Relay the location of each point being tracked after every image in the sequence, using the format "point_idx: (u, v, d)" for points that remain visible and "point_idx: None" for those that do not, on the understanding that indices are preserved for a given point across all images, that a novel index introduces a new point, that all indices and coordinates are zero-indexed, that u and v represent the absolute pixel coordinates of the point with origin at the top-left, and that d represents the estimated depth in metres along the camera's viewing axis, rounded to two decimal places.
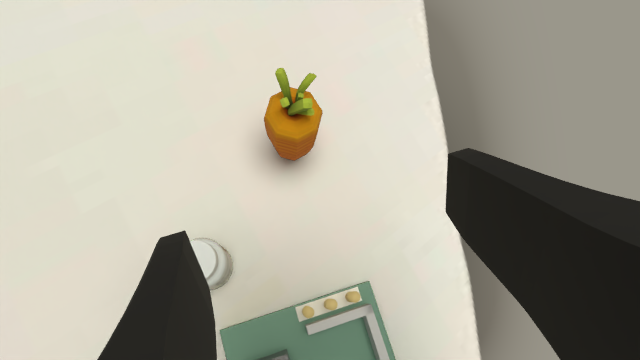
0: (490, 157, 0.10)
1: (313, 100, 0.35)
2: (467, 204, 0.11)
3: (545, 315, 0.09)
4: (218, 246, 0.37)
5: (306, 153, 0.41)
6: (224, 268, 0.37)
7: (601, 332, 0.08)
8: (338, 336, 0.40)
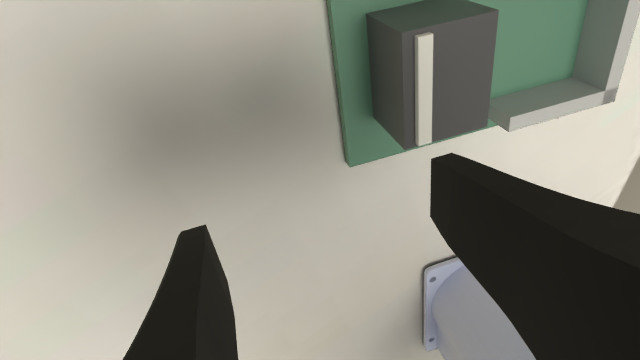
0: (472, 162, 0.10)
1: None
2: (450, 209, 0.11)
3: (526, 322, 0.09)
4: None
5: None
6: None
7: (578, 341, 0.08)
8: None
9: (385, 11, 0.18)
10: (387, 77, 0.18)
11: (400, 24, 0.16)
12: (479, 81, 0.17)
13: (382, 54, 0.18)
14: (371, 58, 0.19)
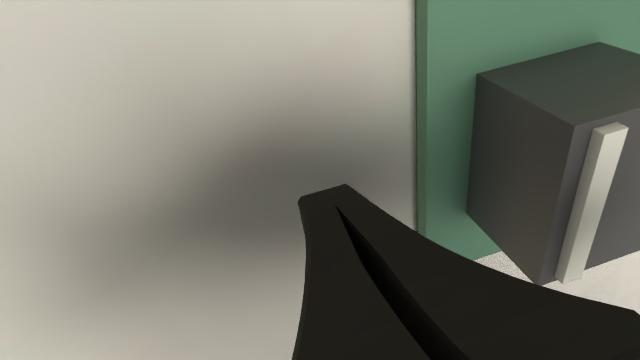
0: (357, 196, 0.10)
1: None
2: None
3: None
4: None
5: None
6: None
7: None
8: None
9: (509, 71, 0.11)
10: (514, 176, 0.11)
11: (556, 103, 0.10)
12: None
13: (508, 141, 0.11)
14: (477, 137, 0.12)
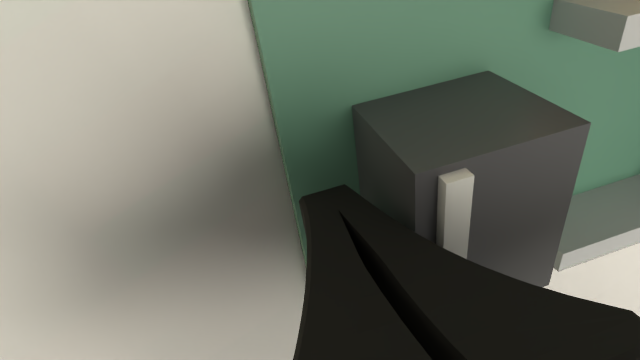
0: (356, 197, 0.10)
1: None
2: None
3: None
4: None
5: None
6: None
7: None
8: (620, 51, 0.13)
9: (384, 103, 0.11)
10: None
11: (410, 145, 0.09)
12: (544, 228, 0.10)
13: (378, 179, 0.10)
14: (360, 171, 0.12)
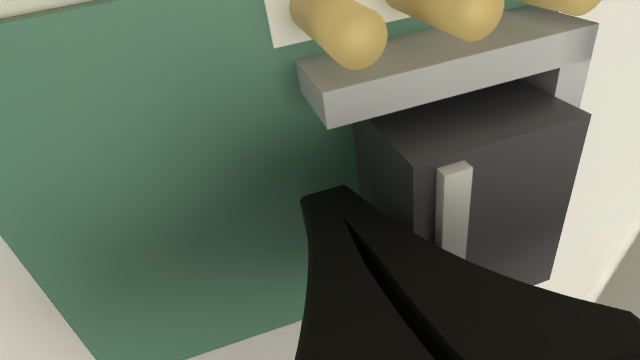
0: (355, 197, 0.10)
1: None
2: None
3: None
4: None
5: None
6: None
7: None
8: None
9: None
10: (386, 211, 0.10)
11: (408, 138, 0.09)
12: (545, 221, 0.10)
13: (377, 173, 0.10)
14: (359, 165, 0.12)
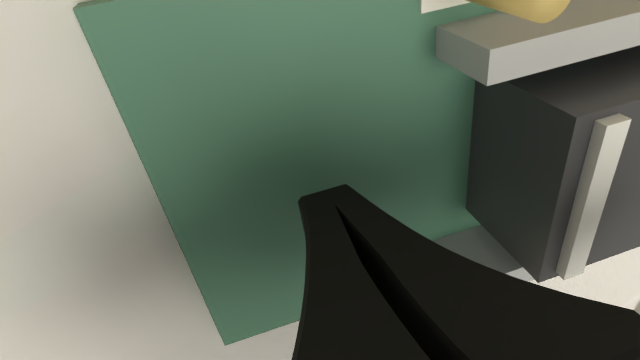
0: (357, 196, 0.10)
1: None
2: None
3: None
4: None
5: None
6: None
7: None
8: None
9: None
10: (515, 170, 0.11)
11: (557, 95, 0.09)
12: None
13: (508, 134, 0.11)
14: (477, 131, 0.12)
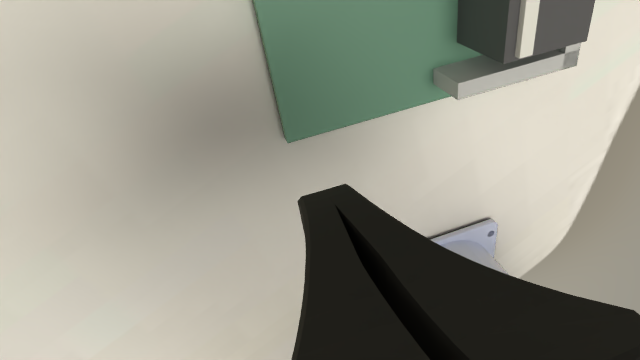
0: (357, 196, 0.10)
1: None
2: None
3: None
4: None
5: None
6: None
7: None
8: None
9: None
10: None
11: None
12: None
13: None
14: None
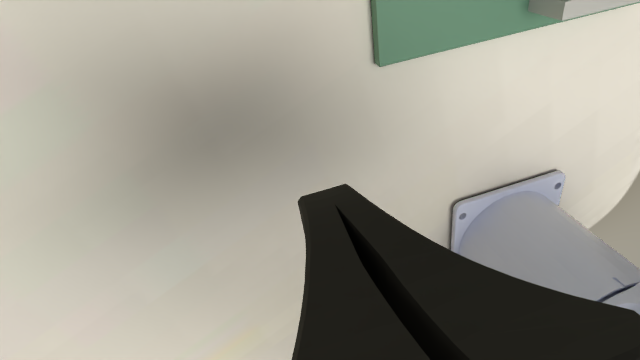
0: (357, 196, 0.10)
1: None
2: None
3: None
4: None
5: None
6: None
7: None
8: None
9: None
10: None
11: None
12: None
13: None
14: None
